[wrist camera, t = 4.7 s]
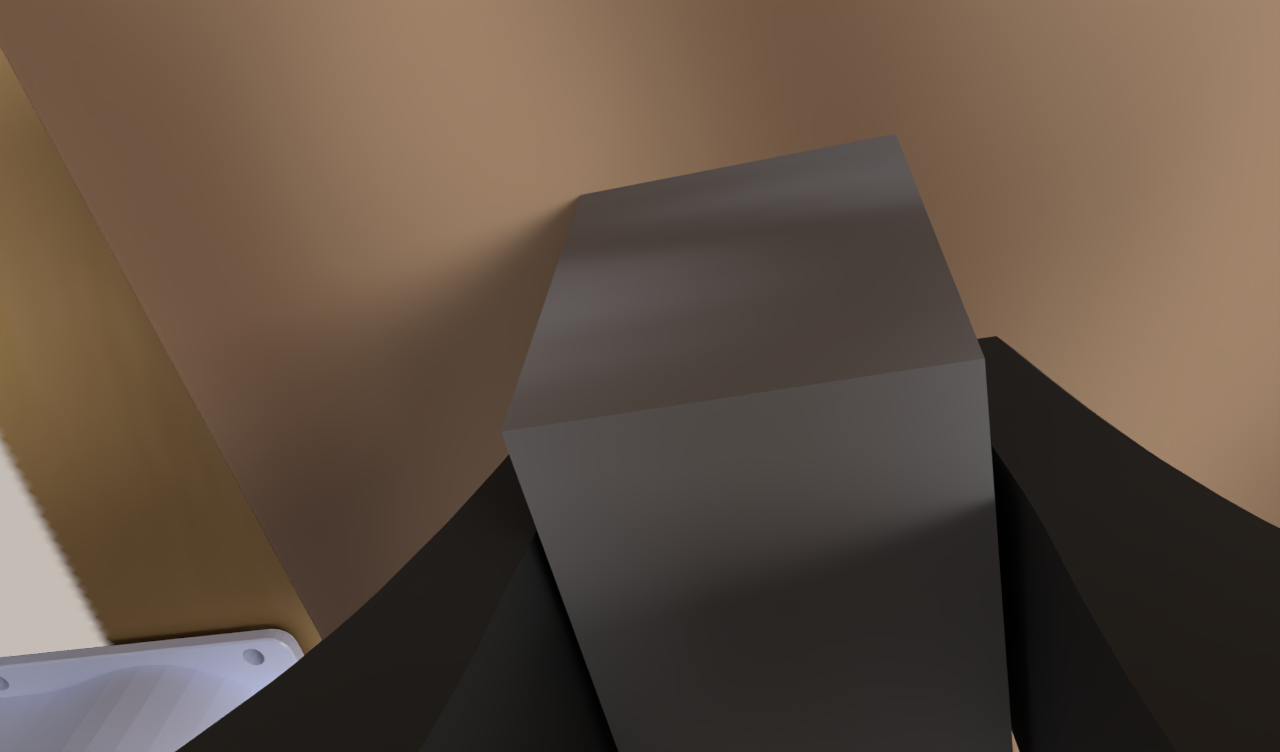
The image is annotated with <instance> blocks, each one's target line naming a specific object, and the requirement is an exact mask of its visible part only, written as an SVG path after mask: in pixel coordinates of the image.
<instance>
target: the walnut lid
mask: <svg viewBox="0 0 1280 752" xmlns="http://www.w3.org/2000/svg"><path fill="white" fill-rule="evenodd" d="M0 47H1V49H2V50H3V52H4V54H5V56H6V58H7V60H8V61H9V63H10V65H11V67H12V69H13V71H14V72H15V74H16V76H17V78H18V80H19V82H20V84H21V85H22V87H23V89H24V91H25V93H26V95H27V96H28V98H29V100H30V102H31V104H32V106H33V107H34V109H35V111H36V113H37V115H38V117H39V119H40V120H41V122H42V124H43V126H44V128H45V130H46V131H47V133H48V135H49V137H50V139H51V141H52V142H53V144H54V146H55V148H56V150H57V152H58V154H59V155H60V157H61V159H62V161H63V163H64V165H65V166H66V168H67V170H68V172H69V174H70V176H71V177H72V179H73V181H74V183H75V185H76V187H77V189H78V190H79V192H80V194H81V196H82V198H83V200H84V201H85V203H86V205H87V207H88V209H89V211H90V212H91V214H92V216H93V218H94V220H95V222H96V224H97V225H98V227H99V229H100V231H101V233H102V235H103V236H104V238H105V240H106V242H107V244H108V246H109V247H110V249H111V251H112V253H113V255H114V257H115V259H116V260H117V262H118V264H119V266H120V268H121V270H122V271H123V273H124V275H125V277H126V279H127V281H128V282H129V284H130V286H131V288H132V290H133V292H134V294H135V295H136V297H137V299H138V301H139V303H140V305H141V306H142V308H143V310H144V312H145V314H146V316H147V317H148V319H149V321H150V323H151V325H152V327H153V329H154V330H155V332H156V334H157V336H158V338H159V340H160V341H161V343H162V345H163V347H164V349H165V351H166V352H167V354H168V356H169V358H170V360H171V362H172V364H173V365H174V367H175V369H176V371H177V373H178V375H179V376H180V378H181V380H182V382H183V384H184V386H185V387H186V389H187V391H188V393H189V395H190V397H191V398H192V400H193V402H194V404H195V406H196V408H197V410H198V411H199V413H200V415H201V417H202V419H203V421H204V422H205V424H206V426H207V428H208V430H209V432H210V433H211V435H212V437H213V439H214V441H215V443H216V445H217V446H218V448H219V450H220V452H221V454H222V456H223V457H224V459H225V461H226V463H227V465H228V467H229V468H230V470H231V472H232V474H233V476H234V478H235V480H236V481H237V483H238V485H239V487H240V489H241V491H242V492H243V494H244V496H245V498H246V500H247V502H248V503H249V505H250V507H251V509H252V511H253V513H254V515H255V516H256V518H257V520H258V522H259V524H260V526H261V527H262V529H263V531H264V533H265V535H266V537H267V538H268V540H269V542H270V544H271V546H272V548H273V550H274V551H275V553H276V555H277V557H278V559H279V561H280V562H281V564H282V566H283V568H284V570H285V572H286V573H287V575H288V577H289V579H290V581H291V583H292V585H293V586H294V588H295V590H296V592H297V594H298V596H299V597H300V599H301V601H302V603H303V605H304V607H305V608H306V610H307V612H308V614H309V616H310V618H311V620H312V621H313V623H314V625H315V627H316V629H317V631H318V632H319V634H320V636H321V638H322V640H324V639H325V638H326V637H327V636H328V635H330V634H331V633H332V632H333V631H335V630H336V629H337V628H338V627H339V626H340V625H341V624H343V623H344V622H345V621H346V620H347V619H348V618H349V617H351V616H352V615H353V614H354V613H355V612H356V611H357V610H358V609H360V608H361V607H362V606H363V605H364V604H365V603H366V602H367V601H368V600H369V599H370V598H372V597H373V596H374V595H375V594H376V593H377V592H378V591H379V590H380V589H381V588H382V587H383V586H384V585H385V584H386V583H387V582H388V581H389V580H390V579H391V578H392V577H393V576H394V575H395V574H396V573H397V572H398V571H399V570H400V569H401V568H402V567H403V566H404V565H405V564H406V563H407V562H408V561H409V560H410V559H411V558H412V557H413V556H414V555H415V554H416V553H417V552H418V551H419V550H420V549H421V548H422V547H423V546H424V545H425V544H426V543H427V542H428V541H429V540H430V539H431V538H432V537H433V536H434V535H435V534H436V533H437V532H438V531H439V530H440V529H441V528H442V527H443V526H444V525H445V524H446V523H447V522H448V521H449V520H450V519H451V518H452V517H453V516H454V515H455V514H456V512H457V511H458V510H459V509H460V508H461V507H462V506H463V505H464V504H465V503H466V501H467V500H468V499H469V498H470V497H471V496H472V495H473V494H474V493H475V492H476V490H477V489H478V488H479V487H480V486H481V485H482V484H483V483H484V482H485V481H486V479H487V478H488V477H489V476H490V475H491V474H492V473H493V472H494V471H495V470H496V468H497V467H498V466H499V465H500V464H501V463H502V462H503V460H504V459H505V458H506V457H507V456H508V455H510V458H511V460H512V463H513V466H514V469H515V471H516V474H517V477H518V480H519V482H520V485H521V488H522V490H523V493H524V496H525V499H526V501H527V504H528V507H529V509H530V512H531V515H532V518H533V520H534V523H535V526H536V529H537V531H538V534H539V537H540V539H541V542H542V545H543V548H544V550H545V553H546V556H547V559H548V561H549V564H550V567H551V569H552V572H553V575H554V578H555V580H556V583H557V586H558V589H559V591H560V594H561V597H562V599H563V602H564V605H565V608H566V610H567V613H568V616H569V618H570V621H571V624H572V627H573V629H574V632H575V635H576V638H577V640H578V643H579V646H580V648H581V651H582V654H583V657H584V659H585V662H586V665H587V668H588V670H589V673H590V676H591V678H592V681H593V684H594V687H595V689H596V692H597V695H598V697H599V700H600V703H601V706H602V708H603V711H604V714H605V717H606V719H607V722H608V725H609V727H610V730H611V733H612V736H613V738H614V741H615V744H616V747H617V749H618V752H1019V749H1018V746H1017V744H1016V741H1015V738H1014V735H1013V733H1012V730H1011V716H1010V702H1009V688H1008V674H1007V660H1006V647H1005V633H1004V619H1003V605H1002V591H1001V577H1000V563H999V549H998V535H997V521H996V507H995V493H994V480H993V466H992V452H991V438H990V424H989V410H988V396H987V382H986V368H985V358H984V355H983V353H982V350H981V348H980V345H979V343H978V340H977V339H980V338H986V337H993V336H997V337H998V338H1000V339H1001V340H1003V341H1004V342H1005V343H1007V344H1008V345H1009V346H1011V347H1012V348H1013V349H1014V350H1016V351H1017V352H1018V353H1019V354H1021V355H1022V356H1023V357H1024V358H1026V359H1027V360H1028V361H1029V362H1031V363H1032V364H1033V365H1034V366H1035V367H1037V368H1038V369H1039V370H1040V371H1042V372H1043V373H1044V374H1045V375H1047V376H1048V377H1049V378H1050V379H1052V380H1053V381H1054V382H1055V383H1057V384H1058V385H1059V386H1061V387H1062V388H1063V389H1064V390H1066V391H1067V392H1068V393H1070V394H1071V395H1072V396H1073V397H1075V398H1076V399H1077V400H1079V401H1080V402H1081V403H1082V404H1084V405H1085V406H1086V407H1088V408H1089V409H1090V410H1092V411H1093V412H1094V413H1096V414H1097V415H1098V416H1100V417H1101V418H1103V419H1104V420H1106V421H1107V422H1108V423H1110V424H1111V425H1113V426H1114V427H1115V428H1117V429H1118V430H1120V431H1121V432H1122V433H1124V434H1125V435H1127V436H1128V437H1129V438H1131V439H1132V440H1134V441H1135V442H1137V443H1138V444H1139V445H1141V446H1142V447H1144V448H1145V449H1146V450H1148V451H1149V452H1151V453H1152V454H1154V455H1155V456H1157V457H1158V458H1160V459H1161V460H1163V461H1165V462H1166V463H1168V464H1169V465H1171V466H1173V467H1174V468H1176V469H1178V470H1179V471H1181V472H1183V473H1184V474H1186V475H1187V476H1189V477H1191V478H1192V479H1194V480H1196V481H1197V482H1199V483H1200V484H1202V485H1204V486H1205V487H1207V488H1209V489H1210V490H1212V491H1214V492H1215V493H1217V494H1218V495H1220V496H1222V497H1223V498H1225V499H1227V500H1229V501H1230V502H1232V503H1234V504H1236V505H1238V506H1239V507H1241V508H1243V509H1245V510H1247V511H1248V512H1250V513H1252V514H1254V515H1256V516H1257V517H1259V518H1261V519H1263V520H1265V521H1267V522H1269V523H1271V524H1273V525H1275V526H1277V527H1278V528H1280V0H0Z"/></svg>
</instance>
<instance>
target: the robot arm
mask: <svg viewBox="0 0 1280 752" xmlns="http://www.w3.org/2000/svg"><path fill="white" fill-rule="evenodd" d="M977 340H978V343H979V345H980V348H981V350H982V353H983V355H984V358H985V368H986V382H987V396H988V410H989V424H990V438H991V452H992V466H993V480H994V493H995V507H996V521H997V535H998V549H999V563H1000V577H1001V591H1002V605H1003V619H1004V633H1005V647H1006V660H1007V674H1008V688H1009V702H1010V716H1011V730H1012V733H1013V735H1014V738H1015V741H1016V744H1017V746H1018V749H1019V752H1280V528H1278V527H1277V526H1275V525H1273V524H1271V523H1269V522H1267V521H1265V520H1263V519H1261V518H1259V517H1257V516H1256V515H1254V514H1252V513H1250V512H1248V511H1247V510H1245V509H1243V508H1241V507H1239V506H1238V505H1236V504H1234V503H1232V502H1230V501H1229V500H1227V499H1225V498H1223V497H1222V496H1220V495H1218V494H1217V493H1215V492H1214V491H1212V490H1210V489H1209V488H1207V487H1205V486H1204V485H1202V484H1200V483H1199V482H1197V481H1196V480H1194V479H1192V478H1191V477H1189V476H1187V475H1186V474H1184V473H1183V472H1181V471H1179V470H1178V469H1176V468H1174V467H1173V466H1171V465H1169V464H1168V463H1166V462H1165V461H1163V460H1161V459H1160V458H1158V457H1157V456H1155V455H1154V454H1152V453H1151V452H1149V451H1148V450H1146V449H1145V448H1144V447H1142V446H1141V445H1139V444H1138V443H1137V442H1135V441H1134V440H1132V439H1131V438H1129V437H1128V436H1127V435H1125V434H1124V433H1122V432H1121V431H1120V430H1118V429H1117V428H1115V427H1114V426H1113V425H1111V424H1110V423H1108V422H1107V421H1106V420H1104V419H1103V418H1101V417H1100V416H1098V415H1097V414H1096V413H1094V412H1093V411H1092V410H1090V409H1089V408H1088V407H1086V406H1085V405H1084V404H1082V403H1081V402H1080V401H1079V400H1077V399H1076V398H1075V397H1073V396H1072V395H1071V394H1070V393H1068V392H1067V391H1066V390H1064V389H1063V388H1062V387H1061V386H1059V385H1058V384H1057V383H1055V382H1054V381H1053V380H1052V379H1050V378H1049V377H1048V376H1047V375H1045V374H1044V373H1043V372H1042V371H1040V370H1039V369H1038V368H1037V367H1035V366H1034V365H1033V364H1032V363H1031V362H1029V361H1028V360H1027V359H1026V358H1024V357H1023V356H1022V355H1021V354H1019V353H1018V352H1017V351H1016V350H1014V349H1013V348H1012V347H1011V346H1009V345H1008V344H1007V343H1005V342H1004V341H1003V340H1001V339H1000V338H998V337H997V336H993V337H986V338H980V339H977ZM254 649H255V650H257V651H255V650H254ZM258 651H259V652H258ZM0 752H618V749H617V747H616V744H615V741H614V738H613V736H612V733H611V730H610V727H609V725H608V722H607V719H606V717H605V714H604V711H603V708H602V706H601V703H600V700H599V697H598V695H597V692H596V689H595V687H594V684H593V681H592V678H591V676H590V673H589V670H588V668H587V665H586V662H585V659H584V657H583V654H582V651H581V648H580V646H579V643H578V640H577V638H576V635H575V632H574V629H573V627H572V624H571V621H570V618H569V616H568V613H567V610H566V608H565V605H564V602H563V599H562V597H561V594H560V591H559V589H558V586H557V583H556V580H555V578H554V575H553V572H552V569H551V567H550V564H549V561H548V559H547V556H546V553H545V550H544V548H543V545H542V542H541V539H540V537H539V534H538V531H537V529H536V526H535V523H534V520H533V518H532V515H531V512H530V509H529V507H528V504H527V501H526V499H525V496H524V493H523V490H522V488H521V485H520V482H519V480H518V477H517V474H516V471H515V469H514V466H513V463H512V460H511V458H510V455H508V456H507V457H506V458H505V459H504V460H503V462H502V463H501V464H500V465H499V466H498V467H497V468H496V470H495V471H494V472H493V473H492V474H491V475H490V476H489V477H488V478H487V479H486V481H485V482H484V483H483V484H482V485H481V486H480V487H479V488H478V489H477V490H476V492H475V493H474V494H473V495H472V496H471V497H470V498H469V499H468V500H467V501H466V503H465V504H464V505H463V506H462V507H461V508H460V509H459V510H458V511H457V512H456V514H455V515H454V516H453V517H452V518H451V519H450V520H449V521H448V522H447V523H446V524H445V525H444V526H443V527H442V528H441V529H440V530H439V531H438V532H437V533H436V534H435V535H434V536H433V537H432V538H431V539H430V540H429V541H428V542H427V543H426V544H425V545H424V546H423V547H422V548H421V549H420V550H419V551H418V552H417V553H416V554H415V555H414V556H413V557H412V558H411V559H410V560H409V561H408V562H407V563H406V564H405V565H404V566H403V567H402V568H401V569H400V570H399V571H398V572H397V573H396V574H395V575H394V576H393V577H392V578H391V579H390V580H389V581H388V582H387V583H386V584H385V585H384V586H383V587H382V588H381V589H380V590H379V591H378V592H377V593H376V594H375V595H374V596H373V597H372V598H370V599H369V600H368V601H367V602H366V603H365V604H364V605H363V606H362V607H361V608H360V609H358V610H357V611H356V612H355V613H354V614H353V615H352V616H351V617H349V618H348V619H347V620H346V621H345V622H344V623H343V624H341V625H340V626H339V627H338V628H337V629H336V630H335V631H333V632H332V633H331V634H330V635H328V636H327V637H326V638H325V639H324V640H322V641H321V642H320V643H319V644H318V645H316V646H315V647H314V648H313V649H312V650H310V651H309V652H308V653H307V654H306V655H304V654H303V652H302V650H301V648H300V646H299V644H298V642H297V641H296V640H295V638H294V637H293V636H292V635H290V634H289V633H288V632H286V631H283V630H280V629H265V630H255V631H246V632H236V633H227V634H218V635H208V636H199V637H189V638H180V639H170V640H161V641H152V642H142V643H133V644H123V645H114V646H104V647H95V648H86V649H76V650H67V651H59V652H58V651H57V652H48V653H39V654H30V655H20V656H10V657H1V658H0Z"/></svg>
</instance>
